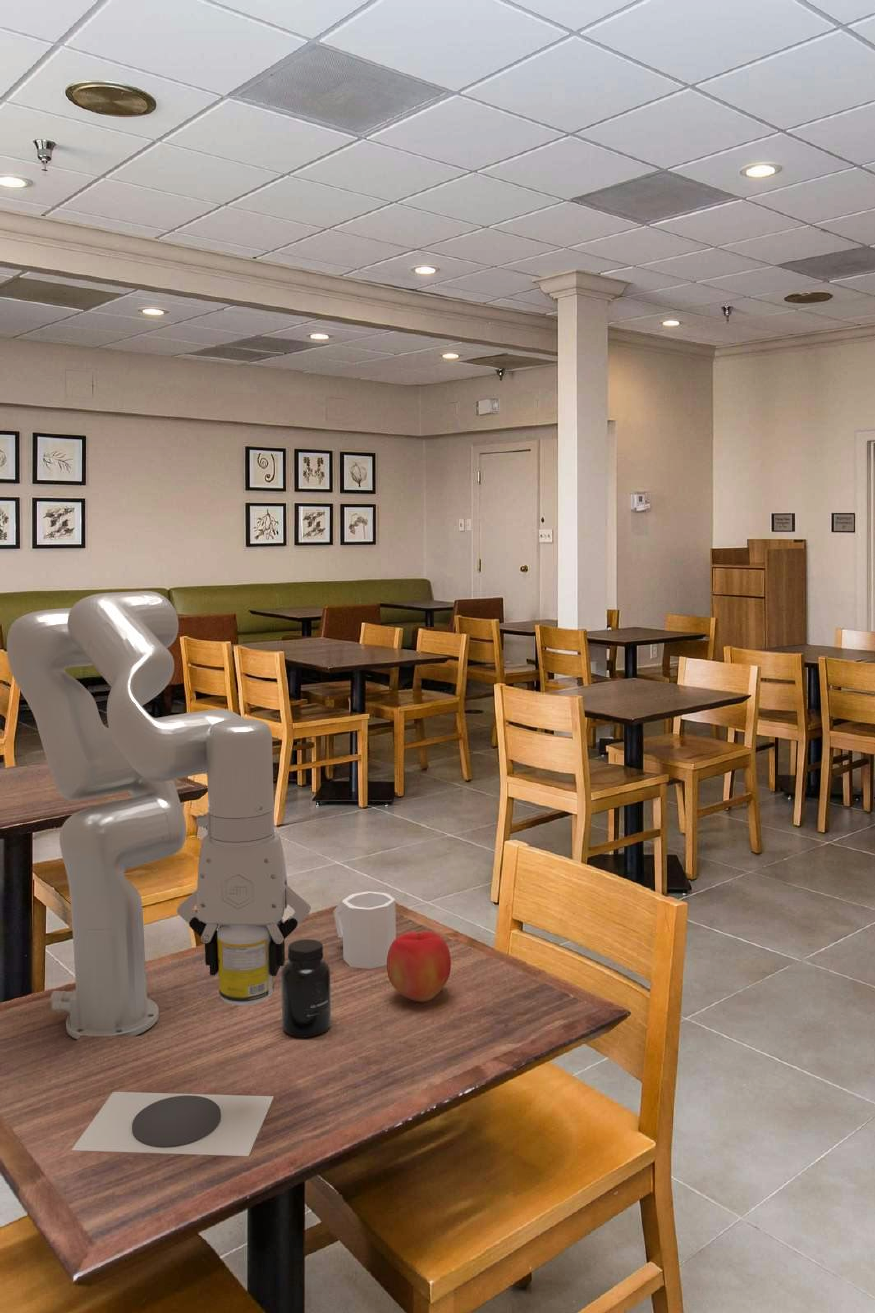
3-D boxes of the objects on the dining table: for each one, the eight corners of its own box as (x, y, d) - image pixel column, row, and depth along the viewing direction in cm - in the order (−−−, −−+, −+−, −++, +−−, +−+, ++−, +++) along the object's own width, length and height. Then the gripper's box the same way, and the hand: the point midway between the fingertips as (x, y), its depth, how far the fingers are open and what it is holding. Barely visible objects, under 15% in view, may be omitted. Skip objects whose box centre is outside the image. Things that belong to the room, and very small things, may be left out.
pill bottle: (248, 978, 127) (245, 888, 125) (285, 992, 123) (283, 899, 122) (207, 998, 122) (204, 904, 120) (244, 1013, 118) (242, 916, 116)
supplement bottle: (322, 1041, 140) (320, 956, 138) (275, 1036, 141) (272, 953, 140) (337, 1017, 146) (335, 937, 145) (292, 1014, 148) (289, 934, 146)
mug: (406, 956, 167) (405, 898, 166) (368, 973, 161) (367, 913, 160) (355, 938, 175) (353, 883, 174) (317, 954, 169) (315, 896, 168)
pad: (118, 1146, 114) (118, 1142, 114) (150, 1097, 124) (149, 1094, 124) (206, 1148, 113) (206, 1145, 113) (231, 1099, 123) (231, 1096, 123)
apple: (461, 1005, 150) (461, 939, 149) (400, 1017, 146) (399, 950, 145) (437, 979, 159) (436, 917, 158) (379, 990, 155) (378, 926, 154)
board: (71, 1160, 114) (71, 1150, 113) (113, 1100, 125) (113, 1091, 125) (248, 1166, 112) (248, 1155, 112) (274, 1105, 124) (273, 1096, 124)
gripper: (158, 834, 116) (164, 984, 119) (310, 835, 116) (313, 985, 118) (177, 815, 124) (182, 957, 126) (320, 816, 123) (322, 958, 125)
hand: (245, 969), depth 122 cm, fingers closed on pill bottle, 6 cm apart
